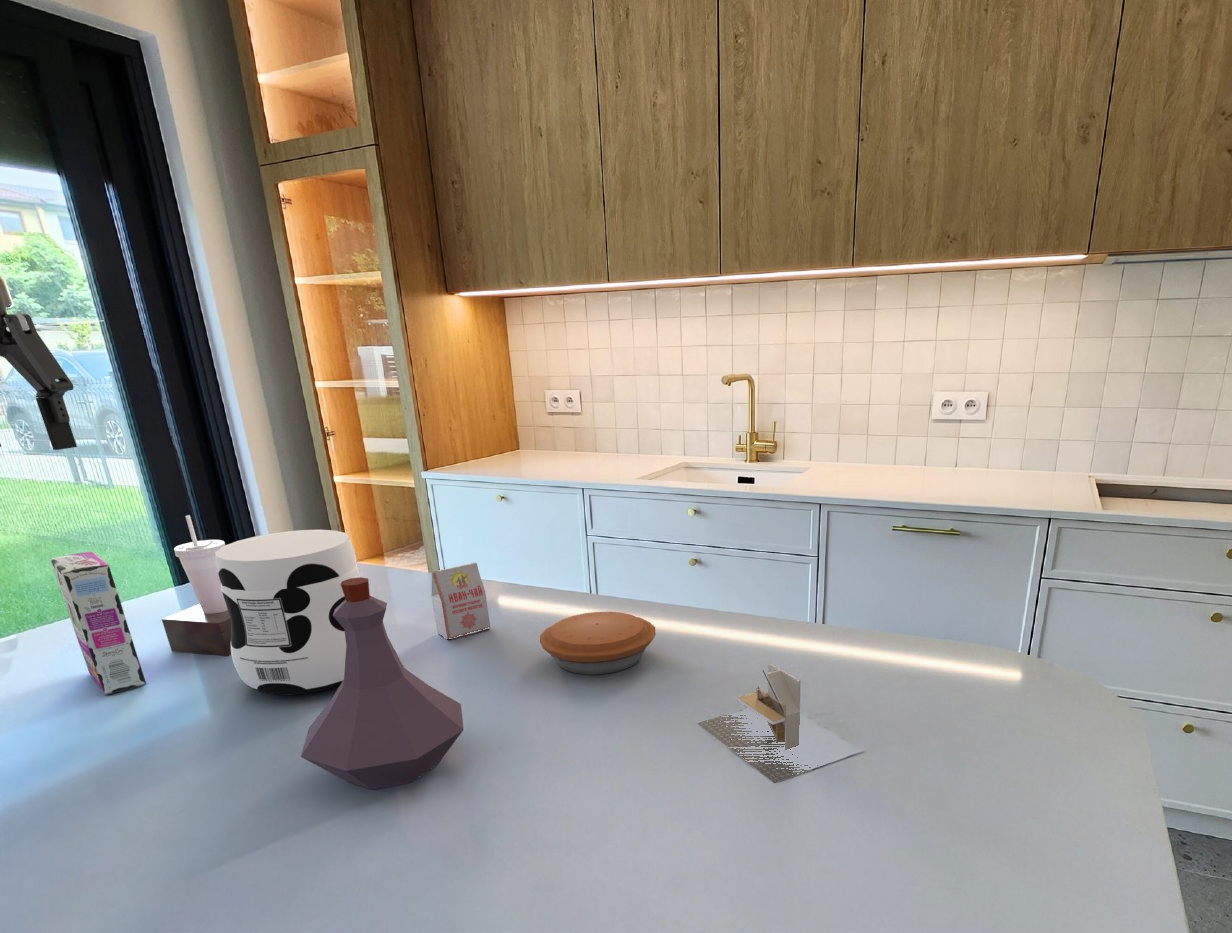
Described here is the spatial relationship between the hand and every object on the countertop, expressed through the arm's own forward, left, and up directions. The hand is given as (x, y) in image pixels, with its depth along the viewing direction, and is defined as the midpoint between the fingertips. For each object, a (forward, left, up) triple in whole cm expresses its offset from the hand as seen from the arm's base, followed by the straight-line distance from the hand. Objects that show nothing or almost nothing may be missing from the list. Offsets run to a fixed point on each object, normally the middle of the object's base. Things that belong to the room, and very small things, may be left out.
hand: (26, 448), depth 107 cm
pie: (+77, +9, -29) cm, 83 cm away
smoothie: (+19, +5, -24) cm, 31 cm away
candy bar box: (+15, -10, -29) cm, 34 cm away
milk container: (+42, -4, -29) cm, 51 cm away
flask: (+66, -22, -29) cm, 75 cm away
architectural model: (+104, -8, -29) cm, 108 cm away
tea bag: (+53, +15, -29) cm, 62 cm away
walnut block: (+19, +5, -29) cm, 35 cm away
